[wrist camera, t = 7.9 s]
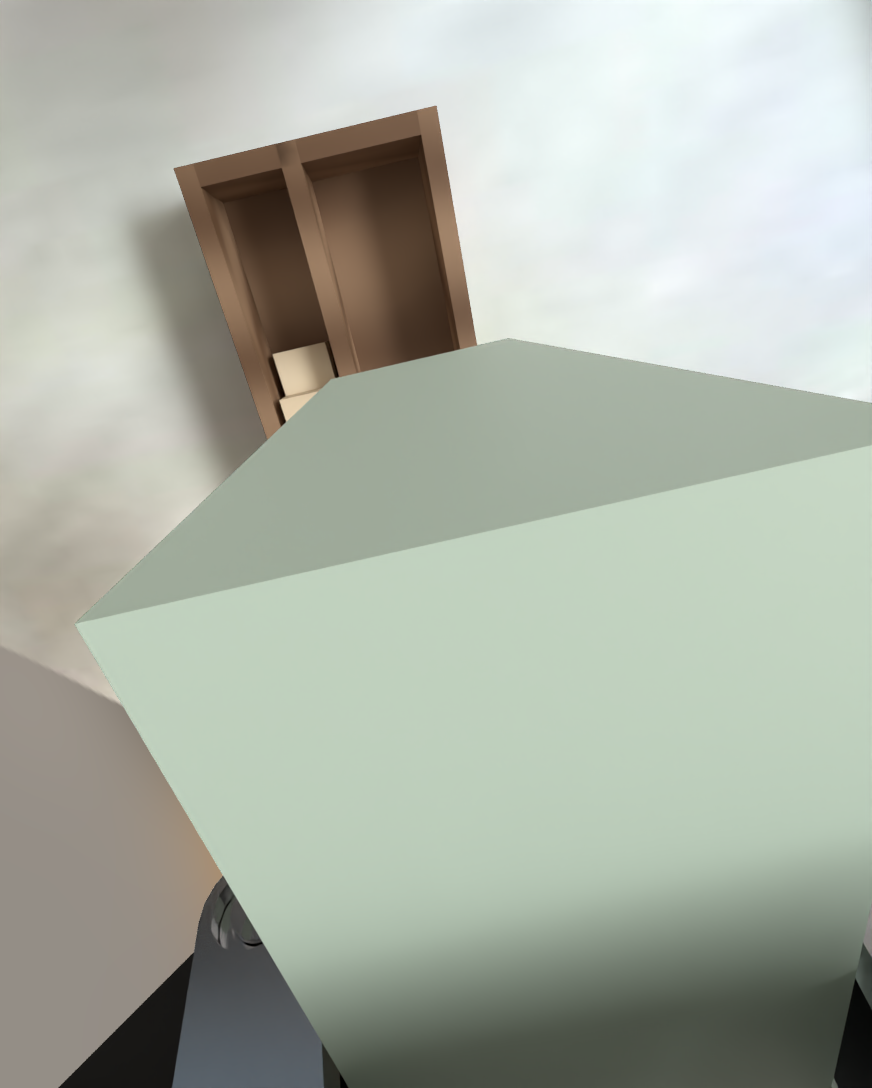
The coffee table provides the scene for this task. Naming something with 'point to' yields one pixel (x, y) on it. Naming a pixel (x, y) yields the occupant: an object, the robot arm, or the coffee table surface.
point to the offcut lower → (306, 368)
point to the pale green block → (532, 717)
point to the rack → (334, 249)
